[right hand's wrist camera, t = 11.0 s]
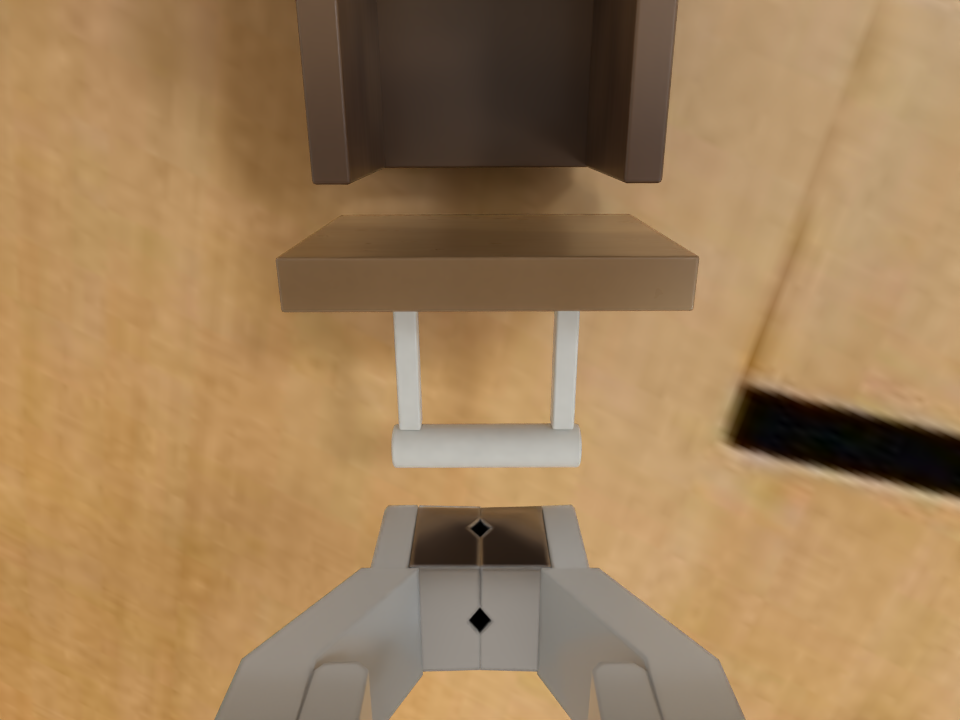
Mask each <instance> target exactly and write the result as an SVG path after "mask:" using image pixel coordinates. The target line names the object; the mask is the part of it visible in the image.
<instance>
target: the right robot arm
mask: <svg viewBox="0 0 960 720" xmlns="http://www.w3.org/2000/svg"><path fill="white" fill-rule="evenodd" d="M456 670H503V671H537V674H538V676H539V677H540V678H541V680H542V681H543V682H544V684H545V685H546V686H547V688H548V689H549V690H550V692H551V693H552V694H553V696H554V697H555V698H556V700H557V701H558V702H559V704H560V705H561V706H562V708H563V709H564V710H565V712H566V713H567V714H568V716H569V717H570V718H571V720H746V719H745V717H744V715H743V713H742V710H741V708H740V706H739V704H738V702H737V699H736V697H735V695H734V693H733V690H732V688H731V686H730V684H729V681H728V679H727V677H726V675H725V672H724V670H723V668H722V666H721V663H720V661H719V660H718V659H717V658H716V657H714V656H713V655H712V654H711V653H709V652H708V651H707V650H705V649H704V648H703V647H701V646H700V645H699V644H697V643H696V642H695V641H694V640H692V639H691V638H690V637H688V636H687V635H686V634H684V633H683V632H682V631H680V630H679V629H678V628H677V627H675V626H674V625H673V624H671V623H670V622H669V621H667V620H666V619H665V618H663V617H662V616H661V615H659V614H658V613H657V612H656V611H654V610H653V609H652V608H650V607H649V606H648V605H646V604H645V603H644V602H642V601H641V600H640V599H639V598H637V597H636V596H635V595H633V594H632V593H631V592H629V591H628V590H627V589H625V588H624V587H623V586H622V585H620V584H619V583H618V582H616V581H615V580H614V579H612V578H611V577H610V576H608V575H607V574H606V573H605V572H603V571H602V570H601V569H599V568H589V564H588V560H587V556H586V552H585V548H584V544H583V540H582V536H581V532H580V528H579V524H578V520H577V516H576V512H575V508H574V507H573V506H572V505H554V506H530V507H491V508H480V507H469V506H419V507H418V506H417V505H389V506H388V507H387V508H386V509H385V511H384V515H383V519H382V523H381V527H380V531H379V535H378V539H377V543H376V547H375V552H374V556H373V560H372V564H371V568H361V569H359V570H358V571H357V572H355V573H354V574H353V575H352V576H350V577H349V578H348V579H346V580H345V581H344V582H342V583H341V584H340V585H338V586H337V587H336V588H334V589H333V590H332V591H331V592H329V593H328V594H327V595H325V596H324V597H323V598H321V599H320V600H319V601H317V602H316V603H315V604H313V605H312V606H311V607H309V608H308V609H307V610H306V611H304V612H303V613H302V614H300V615H299V616H298V617H296V618H295V619H294V620H292V621H291V622H290V623H288V624H287V625H286V626H284V627H283V628H282V629H281V630H279V631H278V632H277V633H275V634H274V635H273V636H271V637H270V638H269V639H267V640H266V641H265V642H263V643H262V644H261V645H260V646H258V647H257V648H256V649H254V650H253V651H252V652H250V653H249V654H248V655H246V656H245V657H244V658H242V660H241V662H240V664H239V666H238V669H237V671H236V673H235V675H234V677H233V680H232V682H231V684H230V686H229V688H228V691H227V693H226V695H225V697H224V700H223V702H222V704H221V706H220V708H219V711H218V713H217V715H216V717H215V719H214V720H389V719H390V717H391V716H392V715H393V713H394V712H395V711H396V709H397V708H398V707H399V706H400V704H401V703H402V702H403V700H404V699H405V698H406V696H407V695H408V694H409V692H410V691H411V690H412V688H413V687H414V686H415V684H416V683H417V682H418V680H419V679H420V678H421V677H422V675H423V671H456Z"/></svg>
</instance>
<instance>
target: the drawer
mask: <svg viewBox="0 0 960 720" xmlns="http://www.w3.org/2000/svg"><path fill="white" fill-rule="evenodd" d="M296 8H297V19H298V30H299V41H300V52H301V63H302V74H303V85H304V96H305V107H306V117H307V128H308V139H309V150H310V161H311V172H312V181H313V183H314V184H316V185H321V184H350V183H352V182H354V181H356V180H359V179H361V178H363V177H365V176H367V175H369V174H371V173H374V172H376V171H378V170H380V169H382V168H467V167H589V168H591V169H594V170H596V171H599V172H601V173H604V174H606V175H608V176H611V177H613V178H616V179H618V180H620V181H623V182H625V183H659V182H661V180H662V174H663V163H664V152H665V141H666V130H667V119H668V108H669V97H670V86H671V75H672V64H673V53H674V42H675V31H676V20H677V9H678V0H296ZM698 264H699V257H698V256H697V255H695V254H694V253H692V252H690V251H689V250H687V249H686V248H684V247H682V246H681V245H679V244H677V243H676V242H674V241H672V240H671V239H669V238H668V237H666V236H664V235H663V234H661V233H659V232H658V231H656V230H655V229H653V228H651V227H650V226H648V225H646V224H645V223H643V222H642V221H640V220H638V219H637V218H635V217H633V216H632V215H630V214H534V215H341V216H339V217H338V218H336V219H335V220H333V221H332V222H330V223H329V224H327V225H326V226H324V227H323V228H321V229H320V230H318V231H317V232H315V233H314V234H312V235H311V236H309V237H308V238H306V239H305V240H303V241H302V242H300V243H299V244H297V245H296V246H294V247H293V248H291V249H289V250H288V251H286V252H285V253H283V254H282V255H280V256H279V257H277V258H276V266H277V275H278V284H279V292H280V301H281V309H282V311H283V312H393V321H394V340H395V359H396V377H397V396H398V415H399V424H396V425H395V426H394V428H393V432H392V462H393V465H394V467H396V468H470V467H578V466H579V465H580V462H581V454H582V442H581V432H580V428H579V425H578V424H576V423H574V414H575V394H576V375H577V355H578V336H579V316H580V311H691V310H693V307H694V299H695V290H696V281H697V272H698ZM477 311H554V334H553V361H552V388H551V415H550V421H551V424H422V398H421V372H420V347H419V321H418V312H477Z"/></svg>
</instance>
